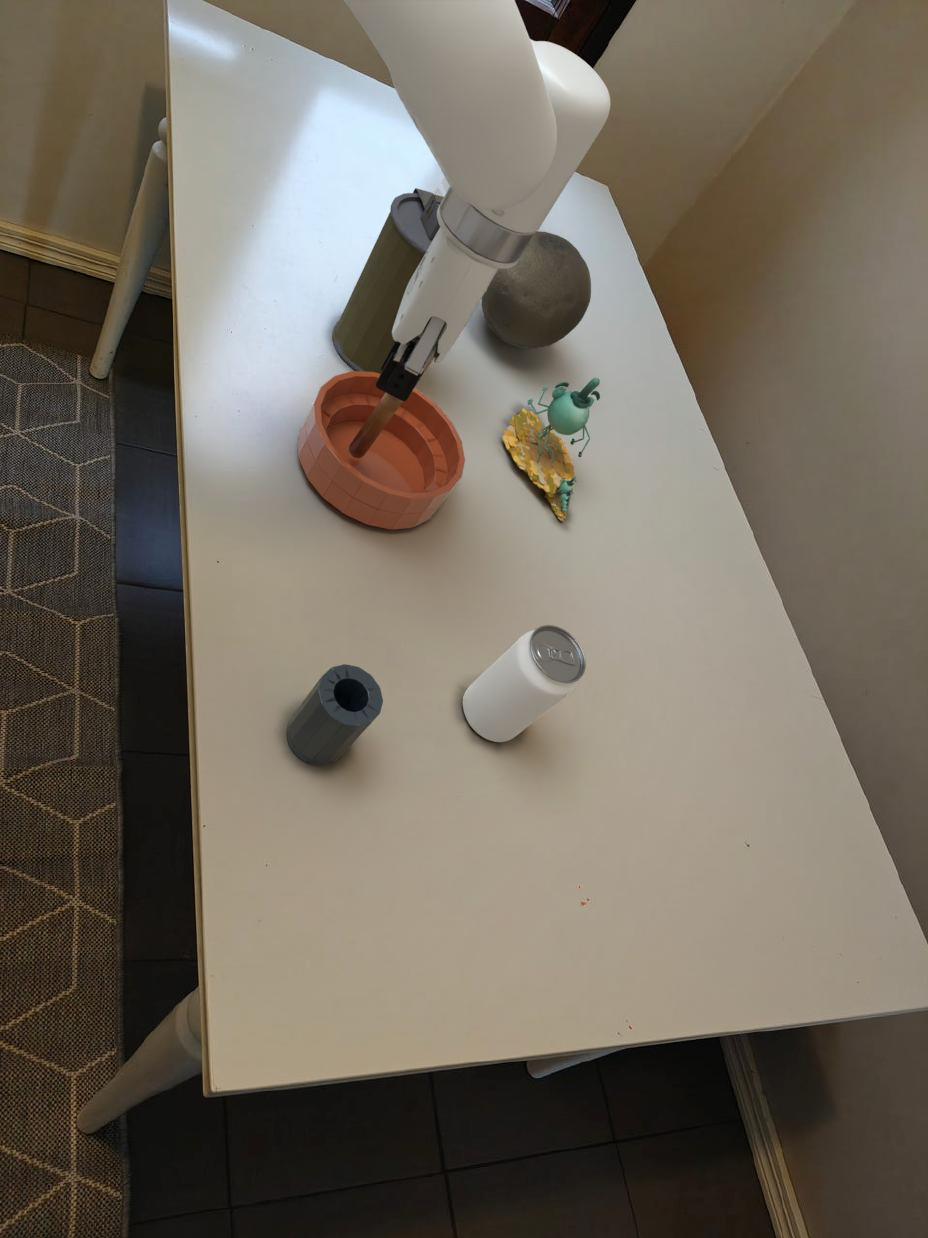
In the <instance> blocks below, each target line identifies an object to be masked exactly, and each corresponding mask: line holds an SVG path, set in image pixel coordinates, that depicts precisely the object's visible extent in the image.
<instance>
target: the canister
mask: <svg viewBox="0 0 928 1238" xmlns="http://www.w3.org/2000/svg"><path fill="white" fill-rule="evenodd" d="M443 198H444V197H442V196H438V195H436V194H435V193H433V192H430V191H427V190H423V189H420V188H417V187H415V188H414V190H413V192H407V193H402V194H400V195H398V196H395V197H394V199H393V200H392V202H391V205H390V208H389V209H390V211H389V213H388V215H387V217H386V220H385V221H384V224H383V226H382V227H381V231H380V232H379V234H378V237H377V239H376V241H375V243H374V245H373V247H372V249H371V250H370V251H371V252H370V254H369V256H368V258H367V260H366V262H365V264H364V267H363V269H362V270H361V273H360V275H359V278H358V279H357V281H356V284H355V286H354V288H353V290H352V292H351V294H350V296H349V299H348V301H347V303H346V305H345V307H344V309H343V312H342V313H341V316H340V317H339V320H338V321H336V323H335V324H334V326H333V329H332V334H331V335H332V336H331V339H332V341H333V344H334V348H335V350H336V351H337V353H338V354H339V356H340V357H341V359H342V360H343V361H345V363H346V364H348V366H350V368H352V369H353V370H354V371H364V372H376V373H379V374H381V373H382V370H381V367H382V364H383V362H384V361H385V359H386V357H387V355H388V353H389V351H390V350H391V348H392V346H393V344H394V342H395V340H394V339H393V336H392V329H393V326H394V322H395V319H396V316H397V313H398V310H399V307H400V304H401V301H402V298H403V295H404V293H405V290H406V287H407V285H408V283H409V281H410V279H411V277H412V276H413V274H414V272H415V271H416V269H417V267H418V265H419V264H420V262H421V260H422V259H423V257H424V255H425V253H426V251H427V250H428V248H429V246H430V244H431V242H432V241H433V239H434V237H435V235H436V234H437V232H438V230H439V228H440V225H439V223H438V219H437V210H438V208H439V206H440V204H441V202H442V200H443Z"/></svg>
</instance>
